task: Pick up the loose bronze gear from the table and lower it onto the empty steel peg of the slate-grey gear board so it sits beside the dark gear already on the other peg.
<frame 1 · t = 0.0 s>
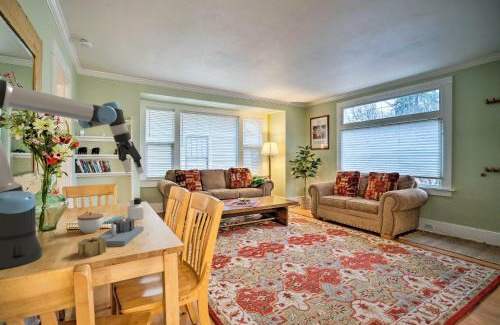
hand: (134, 172, 135), 28 cm above the table, tool tilted 20°, fingers open, 13 cm apart
medicine bottle: (135, 219, 151), on the table
bronze gear: (92, 252, 97), on the table
gear board: (118, 237, 115), on the table
dark gear: (123, 230, 120), point 2 cm above the table, touching gear board
lidded jar: (90, 231, 125), on the table
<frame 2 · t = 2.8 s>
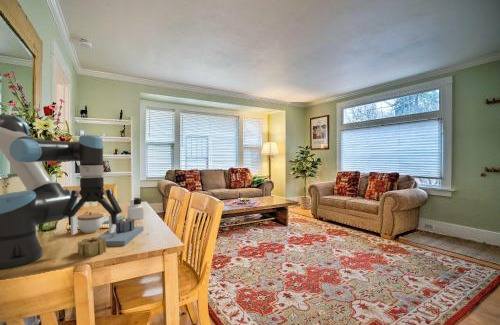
hand: (93, 233, 97), 7 cm above the table, tool pointing down, fingers open, 13 cm apart
nothing on the table moved.
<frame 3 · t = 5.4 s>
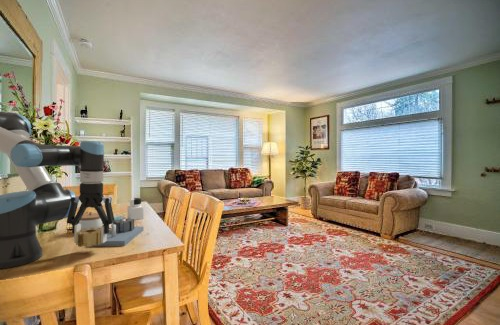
hand: (90, 241, 97), 4 cm above the table, tool pointing down, fingers closed on bronze gear, 9 cm apart
bronze gear: (90, 242, 97), point 4 cm above the table, touching gripper
everything else where it was.
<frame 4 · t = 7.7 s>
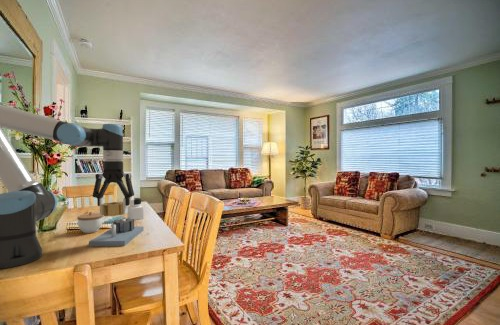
hand: (113, 213, 110), 12 cm above the table, tool pointing down, fingers closed on bronze gear, 9 cm apart
bronze gear: (113, 214, 110), point 12 cm above the table, touching gripper
everything else where it was.
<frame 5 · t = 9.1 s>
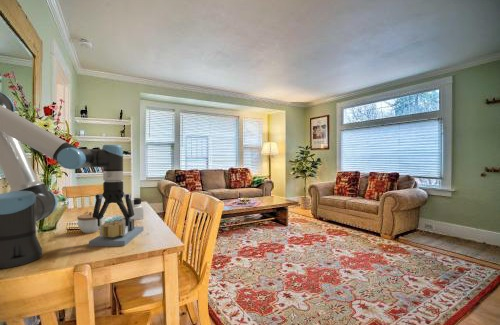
hand: (113, 233, 110), 3 cm above the table, tool pointing down, fingers closed on bronze gear, 9 cm apart
bronze gear: (113, 234, 110), point 3 cm above the table, touching gripper
everything else where it was.
when the fingers open (3 cm above the table, at t = 10.1 s): bronze gear stays where it is, resting on gear board.
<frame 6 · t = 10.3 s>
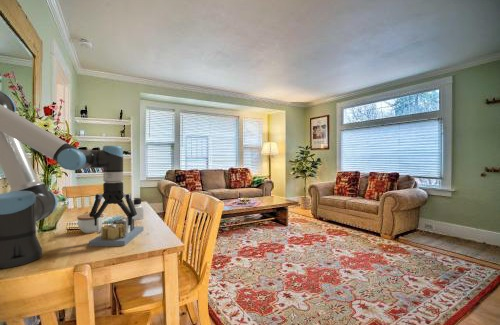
hand: (113, 232, 110), 4 cm above the table, tool pointing down, fingers open, 11 cm apart
bronze gear: (113, 236, 110), point 2 cm above the table, touching gear board
everything else where it was.
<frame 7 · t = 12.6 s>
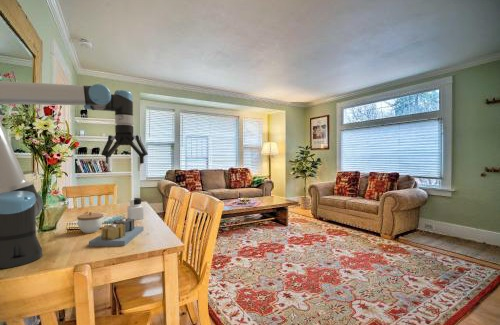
hand: (125, 170, 120), 30 cm above the table, tool pointing down, fingers open, 13 cm apart
nothing on the table moved.
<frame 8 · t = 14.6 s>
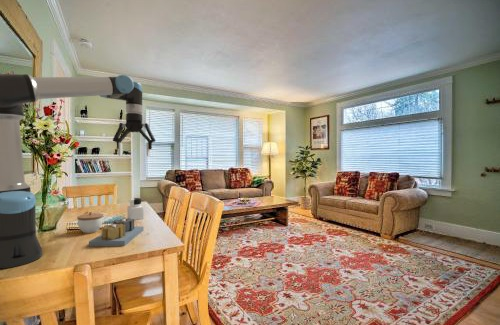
hand: (134, 155, 131), 37 cm above the table, tool pointing down, fingers open, 13 cm apart
nothing on the table moved.
at the end: bronze gear 0.1 cm from the target spot on the gear board, point 2.0 cm above the gear board's base; bronze gear tilted 0°; the gripper is holding nothing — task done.
